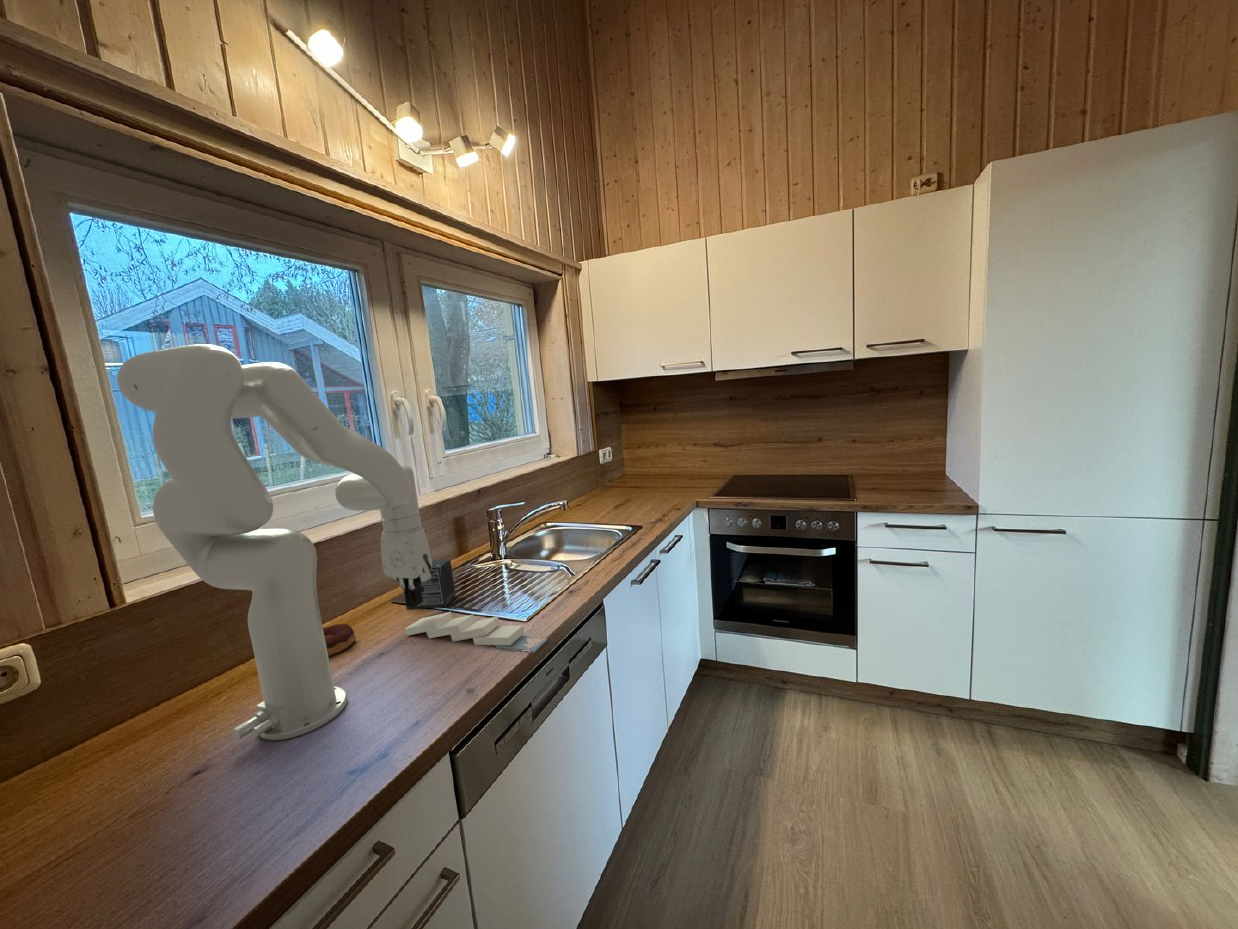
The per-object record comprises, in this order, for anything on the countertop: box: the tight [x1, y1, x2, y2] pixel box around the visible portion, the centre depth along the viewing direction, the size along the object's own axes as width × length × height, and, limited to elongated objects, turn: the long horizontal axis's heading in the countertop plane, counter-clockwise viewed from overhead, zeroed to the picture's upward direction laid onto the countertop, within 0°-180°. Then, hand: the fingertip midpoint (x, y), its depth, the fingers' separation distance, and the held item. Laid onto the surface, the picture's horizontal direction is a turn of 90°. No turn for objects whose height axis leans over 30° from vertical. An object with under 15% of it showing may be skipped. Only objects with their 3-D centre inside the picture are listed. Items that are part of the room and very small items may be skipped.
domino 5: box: [494, 634, 548, 654], centre depth 99 cm, size 2×5×9 cm
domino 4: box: [472, 625, 525, 646], centre depth 101 cm, size 2×5×9 cm
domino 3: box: [449, 616, 501, 643], centre depth 103 cm, size 2×5×9 cm
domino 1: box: [404, 611, 454, 637], centre depth 108 cm, size 2×5×9 cm
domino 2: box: [426, 614, 476, 639], centre depth 106 cm, size 2×5×9 cm
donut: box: [323, 623, 356, 657], centre depth 105 cm, size 10×10×4 cm
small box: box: [405, 558, 457, 610], centre depth 124 cm, size 11×6×10 cm, turn 84°
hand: (414, 604), depth 109 cm, fingers closed
